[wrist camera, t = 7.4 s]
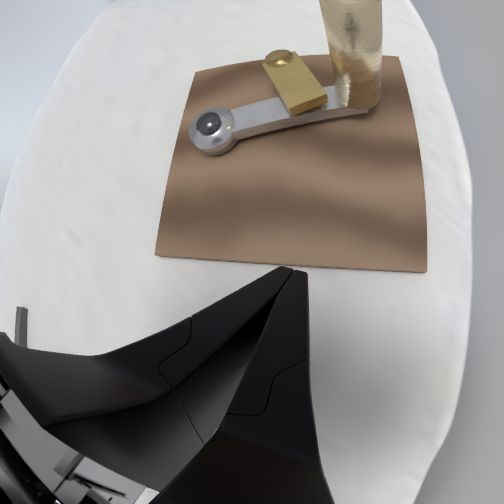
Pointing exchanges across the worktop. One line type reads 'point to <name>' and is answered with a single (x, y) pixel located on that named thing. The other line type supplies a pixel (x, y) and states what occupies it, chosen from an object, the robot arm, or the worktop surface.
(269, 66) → the plate
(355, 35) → the beige lever tool
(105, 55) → the worktop surface
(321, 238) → the walnut board
